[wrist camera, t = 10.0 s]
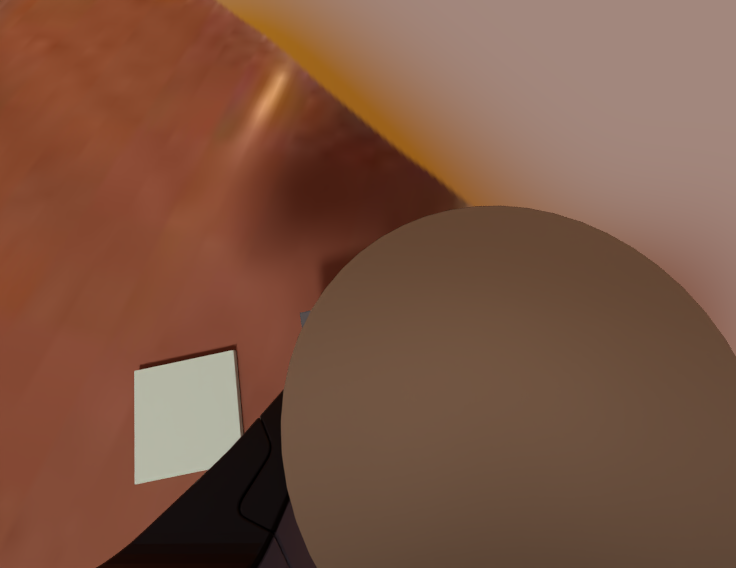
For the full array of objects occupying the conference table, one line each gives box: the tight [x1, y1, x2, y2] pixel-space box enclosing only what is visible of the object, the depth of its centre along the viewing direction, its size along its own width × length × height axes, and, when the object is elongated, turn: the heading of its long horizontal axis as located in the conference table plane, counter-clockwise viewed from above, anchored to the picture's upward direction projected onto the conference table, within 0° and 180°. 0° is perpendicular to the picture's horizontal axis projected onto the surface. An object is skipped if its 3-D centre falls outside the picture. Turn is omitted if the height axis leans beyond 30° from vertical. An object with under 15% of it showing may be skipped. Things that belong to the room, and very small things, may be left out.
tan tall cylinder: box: [281, 206, 736, 568], centre depth 8 cm, size 4×4×12 cm
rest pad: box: [134, 350, 243, 484], centre depth 22 cm, size 7×7×1 cm
